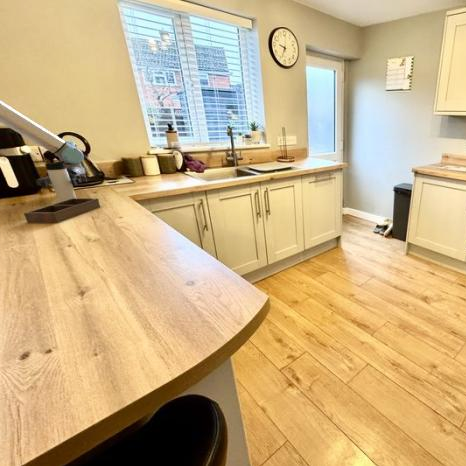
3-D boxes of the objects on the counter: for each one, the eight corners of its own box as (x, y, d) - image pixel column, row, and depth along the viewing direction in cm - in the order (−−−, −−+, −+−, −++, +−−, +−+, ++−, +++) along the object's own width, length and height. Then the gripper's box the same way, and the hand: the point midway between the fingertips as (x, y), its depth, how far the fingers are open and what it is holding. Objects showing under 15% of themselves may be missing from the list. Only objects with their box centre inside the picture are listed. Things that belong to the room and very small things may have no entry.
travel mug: (78, 206, 132) (63, 161, 125) (59, 208, 129) (42, 162, 121) (80, 202, 137) (65, 160, 130) (62, 204, 133) (45, 161, 126)
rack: (28, 223, 110) (23, 213, 108) (75, 207, 130) (72, 198, 128) (58, 223, 110) (53, 213, 109) (100, 207, 130) (97, 198, 129)
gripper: (100, 180, 149) (93, 189, 132) (42, 185, 139) (25, 195, 121) (96, 166, 147) (88, 173, 129) (36, 169, 136) (18, 177, 118)
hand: (58, 183), depth 125 cm, fingers open, 9 cm apart
